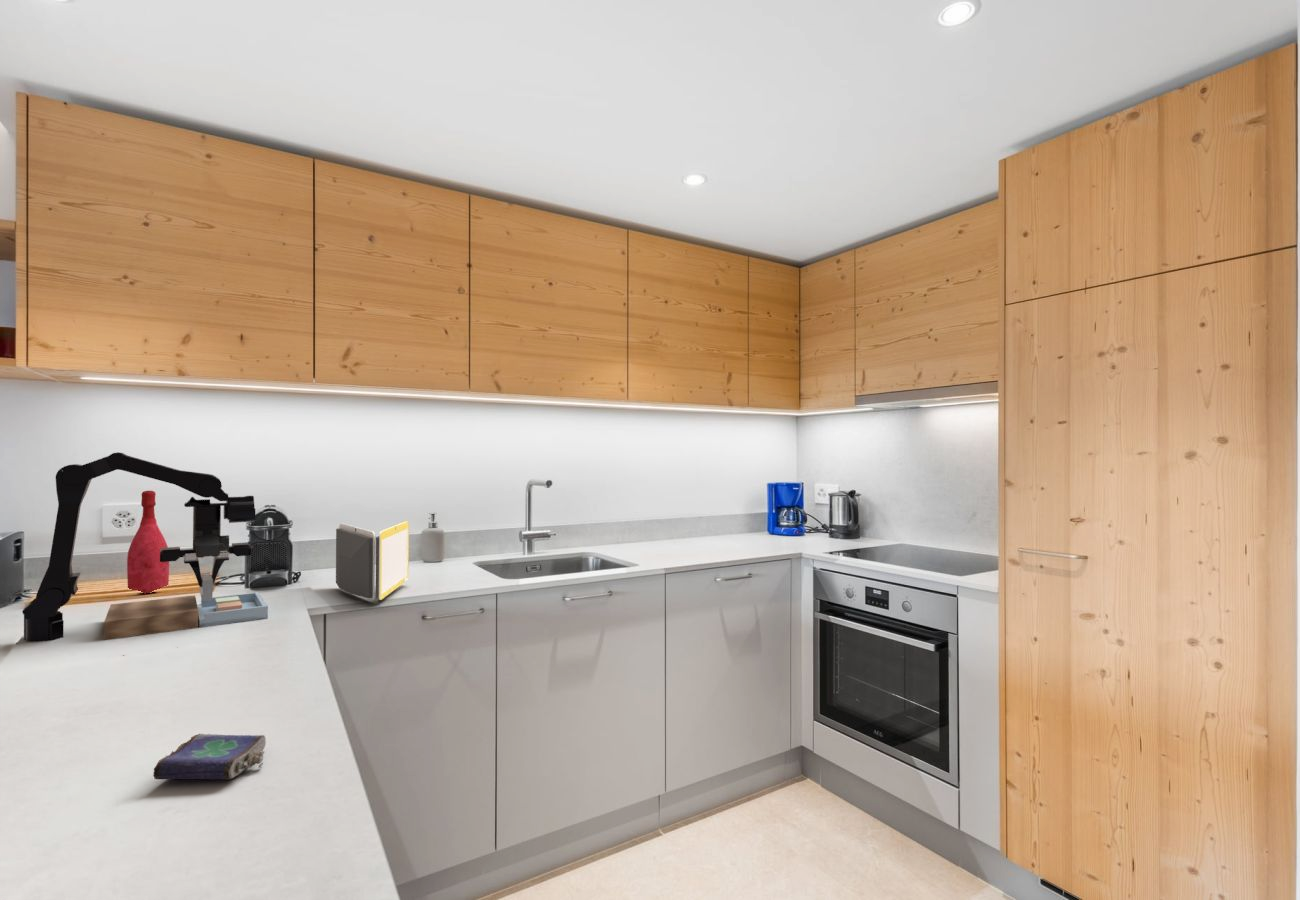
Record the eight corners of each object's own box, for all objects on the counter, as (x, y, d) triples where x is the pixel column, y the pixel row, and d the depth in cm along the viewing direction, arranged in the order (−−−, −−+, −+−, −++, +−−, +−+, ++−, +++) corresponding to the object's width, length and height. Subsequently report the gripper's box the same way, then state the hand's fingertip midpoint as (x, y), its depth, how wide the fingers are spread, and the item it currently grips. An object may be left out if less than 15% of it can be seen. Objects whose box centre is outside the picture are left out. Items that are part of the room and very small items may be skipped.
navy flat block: (200, 730, 89) (281, 732, 89) (199, 751, 89) (279, 753, 89) (153, 763, 79) (243, 765, 80) (151, 786, 79) (242, 789, 80)
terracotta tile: (242, 604, 162) (242, 614, 162) (240, 601, 166) (240, 610, 166) (218, 607, 159) (218, 617, 159) (217, 603, 163) (217, 613, 163)
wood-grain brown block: (104, 639, 143) (104, 621, 143) (110, 620, 159) (110, 604, 159) (198, 627, 153) (198, 610, 153) (195, 610, 169) (195, 595, 169)
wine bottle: (119, 593, 189) (119, 491, 189) (155, 587, 198) (156, 489, 198) (140, 596, 185) (140, 492, 185) (176, 589, 194) (176, 490, 194)
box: (199, 627, 153) (199, 614, 153) (196, 610, 169) (196, 599, 169) (267, 618, 162) (267, 606, 162) (258, 603, 178) (258, 592, 178)
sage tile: (239, 599, 167) (239, 609, 167) (238, 595, 171) (237, 605, 171) (216, 602, 164) (216, 611, 164) (215, 598, 168) (215, 608, 168)
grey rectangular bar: (202, 601, 156) (203, 580, 156) (199, 592, 167) (200, 573, 167) (212, 600, 157) (213, 579, 157) (209, 591, 168) (209, 572, 168)
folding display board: (326, 585, 202) (326, 522, 202) (395, 575, 217) (395, 517, 217) (369, 604, 177) (369, 532, 177) (443, 592, 192) (443, 526, 192)
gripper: (160, 529, 150) (159, 596, 150) (253, 524, 161) (253, 587, 161) (160, 525, 159) (159, 588, 159) (249, 520, 170) (248, 580, 170)
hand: (206, 586), depth 162 cm, fingers closed on grey rectangular bar, 2 cm apart
